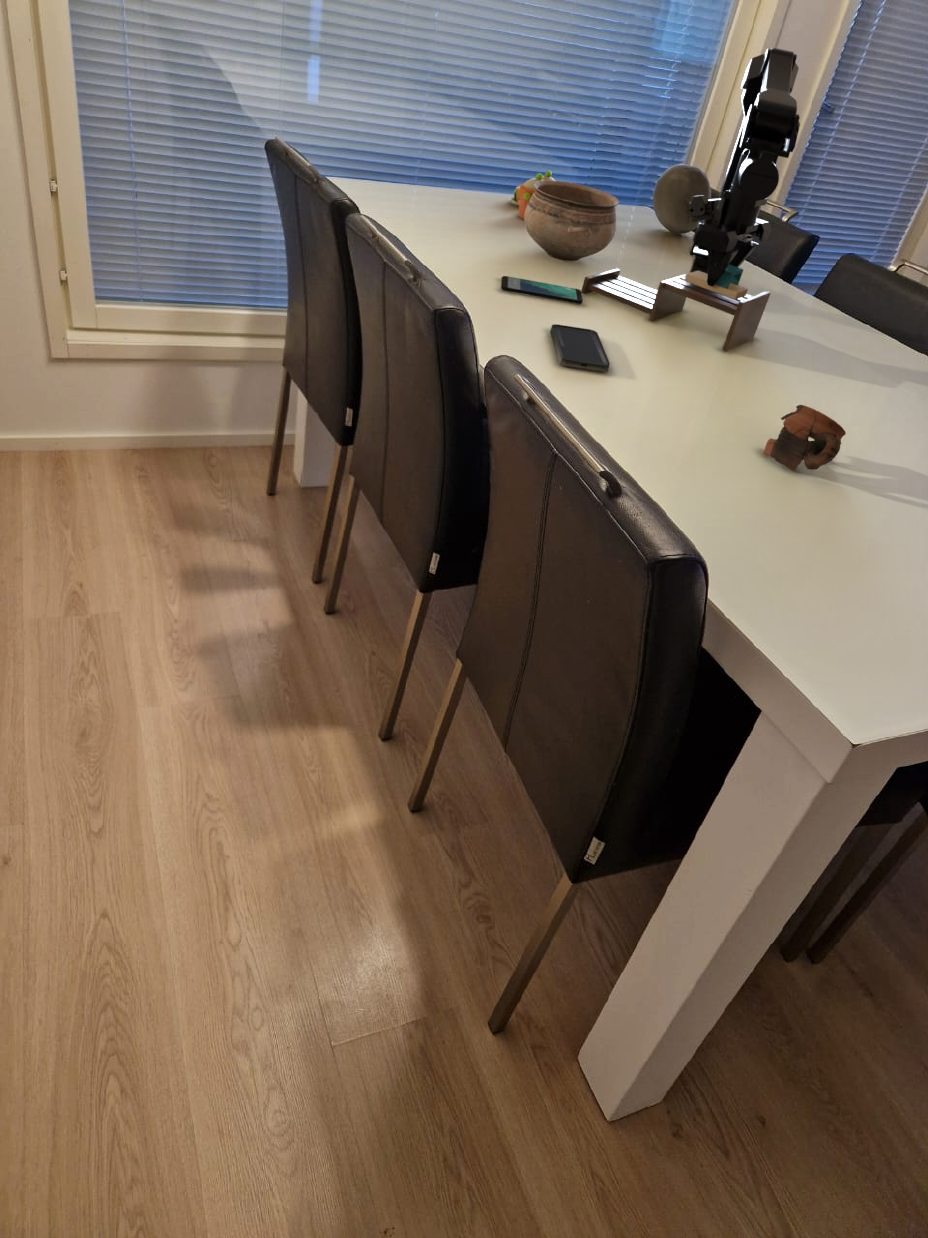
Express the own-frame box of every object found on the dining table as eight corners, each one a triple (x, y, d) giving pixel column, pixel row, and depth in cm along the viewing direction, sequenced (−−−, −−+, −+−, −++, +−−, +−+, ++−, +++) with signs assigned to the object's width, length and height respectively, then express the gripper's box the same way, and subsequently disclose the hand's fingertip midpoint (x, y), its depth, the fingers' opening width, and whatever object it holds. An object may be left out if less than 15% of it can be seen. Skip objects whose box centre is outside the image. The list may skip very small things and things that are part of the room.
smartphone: (501, 274, 161) (580, 288, 162) (501, 278, 161) (580, 293, 162) (501, 286, 155) (583, 301, 156) (500, 290, 156) (582, 305, 157)
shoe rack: (613, 283, 171) (625, 238, 166) (753, 339, 158) (771, 292, 153) (580, 292, 163) (592, 246, 158) (725, 351, 150) (743, 303, 145)
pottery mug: (745, 445, 122) (782, 393, 120) (789, 477, 126) (825, 428, 124) (794, 467, 111) (835, 411, 109) (841, 501, 115) (881, 448, 113)
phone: (596, 330, 144) (611, 365, 133) (594, 336, 145) (609, 372, 133) (550, 323, 143) (560, 358, 132) (548, 329, 144) (559, 365, 132)
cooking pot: (620, 281, 173) (637, 216, 166) (528, 268, 170) (542, 202, 162) (592, 243, 192) (606, 184, 185) (509, 231, 189) (520, 170, 181)
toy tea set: (584, 232, 199) (595, 187, 193) (519, 223, 196) (528, 176, 190) (561, 202, 219) (570, 160, 213) (501, 193, 216) (509, 150, 210)
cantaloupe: (707, 235, 216) (728, 170, 207) (687, 244, 206) (708, 175, 197) (656, 219, 221) (674, 154, 212) (634, 227, 211) (652, 159, 202)
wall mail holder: (696, 276, 157) (703, 254, 154) (745, 295, 152) (754, 272, 150) (684, 280, 153) (691, 257, 151) (734, 299, 149) (742, 276, 147)
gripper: (728, 170, 152) (699, 261, 162) (680, 177, 140) (652, 275, 150) (787, 188, 148) (753, 281, 157) (742, 197, 135) (709, 297, 145)
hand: (716, 283), depth 152 cm, fingers closed on wall mail holder, 5 cm apart
